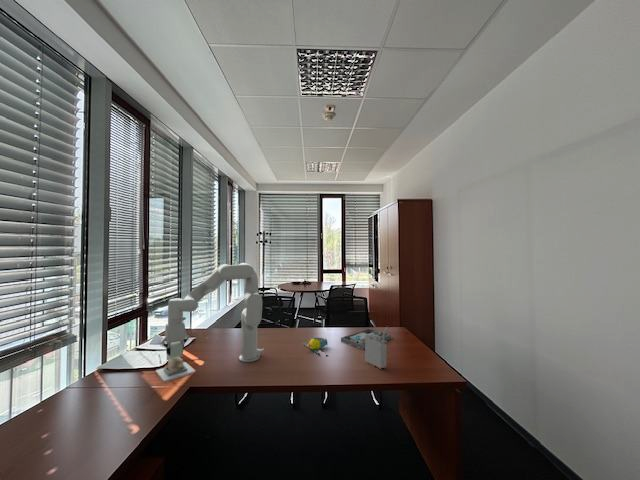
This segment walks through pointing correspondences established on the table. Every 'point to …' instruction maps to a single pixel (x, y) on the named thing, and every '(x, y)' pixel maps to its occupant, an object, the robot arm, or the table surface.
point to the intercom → (361, 337)
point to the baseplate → (168, 376)
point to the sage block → (176, 349)
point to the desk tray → (346, 338)
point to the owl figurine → (316, 344)
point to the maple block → (175, 364)
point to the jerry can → (375, 349)
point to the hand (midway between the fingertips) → (175, 352)
